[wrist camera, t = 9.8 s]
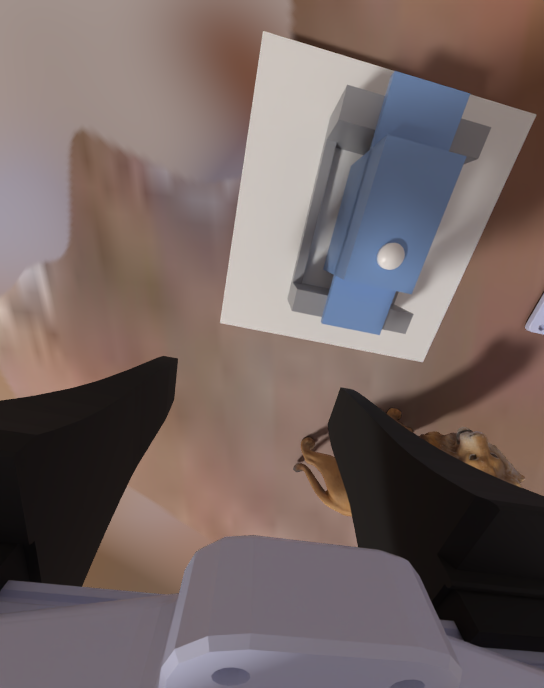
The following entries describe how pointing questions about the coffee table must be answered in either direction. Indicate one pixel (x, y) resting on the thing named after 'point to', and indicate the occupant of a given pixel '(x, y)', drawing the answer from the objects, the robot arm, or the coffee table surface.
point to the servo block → (393, 202)
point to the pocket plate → (327, 191)
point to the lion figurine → (458, 444)
